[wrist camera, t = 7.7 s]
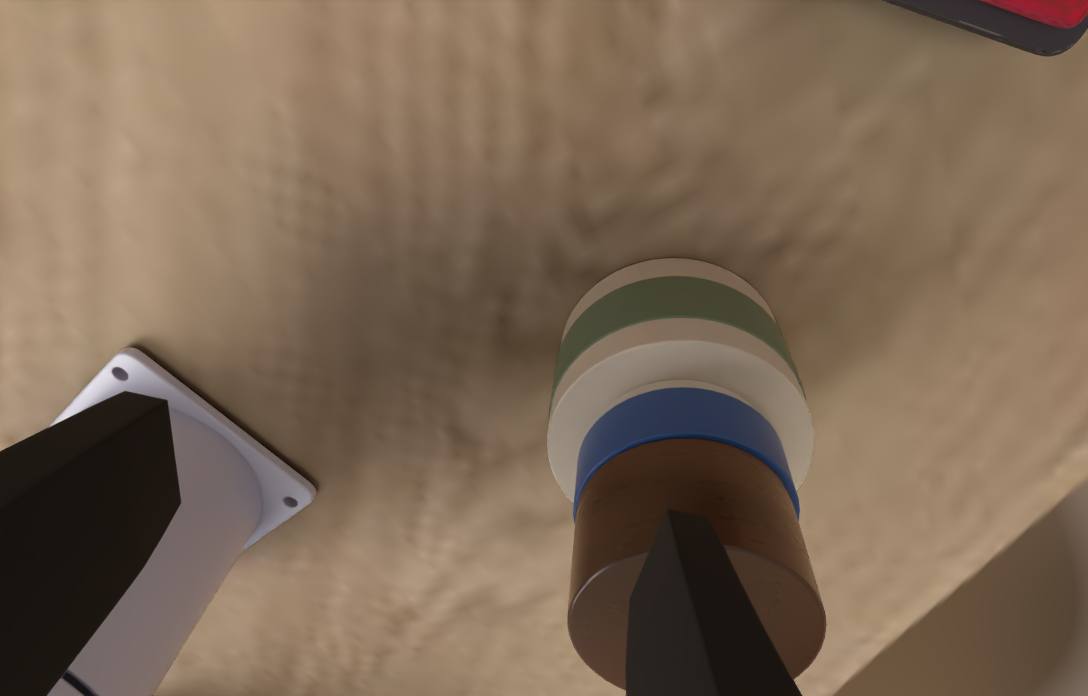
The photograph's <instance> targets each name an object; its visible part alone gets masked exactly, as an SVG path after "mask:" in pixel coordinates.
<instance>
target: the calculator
mask: <svg viewBox="0 0 1088 696" xmlns="http://www.w3.org/2000/svg"><path fill="white" fill-rule="evenodd" d="M883 1H886V2H889V3H891V4H894V5H897V6H900V7H903V8H905V9H908V10H911V11H914V12H917V13H920V14H922V15H925V16H928V17H931V18H934V19H936V20H939V21H942V22H945V23H948V24H950V25H953V26H956V27H959V28H962V29H965V30H967V31H970V32H973V33H976V34H979V35H981V36H984V37H987V38H990V39H993V40H995V41H998V42H1001V43H1004V44H1007V45H1009V46H1012V47H1015V48H1018V49H1021V50H1024V51H1027V52H1030V53H1033V54H1036V55H1040V56H1055V55H1058V54H1061V53H1063V52H1065V51H1067V50H1068V49H1070V48H1071V47H1072V46H1073V45H1075V43H1076V42H1077V41H1078V40H1079V39H1080V38H1081V37H1082V35H1083V34H1084V33H1085V31H1086V30H1087V29H1088V0H883Z"/></svg>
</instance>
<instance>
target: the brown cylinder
mask: <svg viewBox="0 0 1088 696" xmlns="http://www.w3.org/2000/svg"><path fill="white" fill-rule="evenodd" d="M667 508H669V509H674V510H678V511H683V512H688V513H692V514H697V515H701V516H706V517H709V518H710V520H711V521H712V523H713V525H714V527H715V529H716V531H717V533H718V535H719V537H720V539H721V541H722V543H723V545H724V548H725V550H726V552H727V554H728V556H729V558H730V560H731V562H732V564H733V566H734V568H735V570H736V572H737V574H738V576H739V579H740V581H741V583H742V585H743V587H744V588H745V590H746V592H747V594H748V596H749V598H750V600H751V602H752V604H753V606H754V608H755V610H756V612H757V614H758V616H759V618H760V620H761V622H762V624H763V626H764V628H765V629H766V631H767V633H768V635H769V637H770V639H771V640H772V642H773V644H774V646H775V648H776V650H777V651H778V653H779V655H780V657H781V659H782V661H783V662H784V664H785V666H786V668H787V670H788V671H789V673H790V675H791V677H792V679H795V678H796V677H798V676H799V675H800V674H801V673H802V672H803V671H805V670H806V669H807V668H808V667H809V665H810V664H811V663H812V662H813V661H814V659H815V658H816V656H817V655H818V653H819V651H820V649H821V647H822V644H823V641H824V638H825V632H826V616H825V611H824V608H823V604H822V601H821V597H820V594H819V590H818V587H817V584H816V580H815V577H814V573H813V570H812V566H811V563H810V559H809V556H808V553H807V549H806V546H805V542H804V539H803V535H802V532H801V529H800V525H799V522H798V518H797V515H796V511H795V508H794V505H793V501H792V498H791V495H790V493H789V491H788V489H787V487H786V485H785V483H784V482H783V481H782V479H781V478H780V477H779V475H778V474H777V473H776V472H775V471H774V470H773V469H772V468H771V467H769V466H768V465H767V464H766V463H764V462H763V461H762V460H760V459H759V458H758V457H756V456H754V455H752V454H750V453H749V452H747V451H745V450H743V449H740V448H738V447H735V446H732V445H729V444H726V443H722V442H718V441H713V440H707V439H699V438H671V439H664V440H657V441H653V442H649V443H645V444H641V445H639V446H636V447H633V448H630V449H628V450H626V451H624V452H622V453H620V454H618V455H616V456H615V457H613V458H612V459H610V460H609V461H607V462H606V463H605V464H604V465H602V466H601V467H600V468H599V469H598V470H597V471H596V472H595V473H594V474H593V475H592V477H591V478H590V479H589V480H588V482H587V483H586V485H585V487H584V488H583V490H582V492H581V495H580V497H579V500H578V504H577V509H576V520H575V532H574V544H573V556H572V568H571V580H570V592H569V604H568V624H567V625H568V630H569V635H570V638H571V640H572V643H573V645H574V648H575V649H576V651H577V653H578V654H579V656H580V657H581V658H582V660H583V661H584V662H585V663H586V664H587V665H588V666H589V667H590V668H591V669H592V670H593V671H594V672H595V673H596V674H598V675H599V676H601V677H602V678H603V679H605V680H606V681H608V682H610V683H612V684H613V685H615V686H617V687H619V688H621V689H623V690H626V675H625V664H626V645H627V629H628V615H629V600H630V596H631V594H632V592H633V589H634V587H635V584H636V582H637V580H638V577H639V575H640V572H641V570H642V567H643V565H644V563H645V560H646V558H647V555H648V553H649V551H650V548H651V546H652V543H653V541H654V539H655V536H656V534H657V531H658V529H659V526H660V524H661V522H662V519H663V517H664V514H665V512H666V510H667Z"/></svg>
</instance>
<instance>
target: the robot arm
mask: <svg viewBox="0 0 1088 696" xmlns="http://www.w3.org/2000/svg"><path fill="white" fill-rule="evenodd" d="M121 368H122V369H124V370H125V371H126V372H127V373H126V372H124V371H123V370H122V369H121ZM315 495H316V489H315V487H314V486H313V485H312V484H311V483H310V482H309V481H308V480H306V479H305V478H304V477H303V476H301V475H300V474H299V473H297V472H296V471H295V470H293V469H292V468H291V467H290V466H288V465H287V464H286V463H284V462H283V461H282V460H281V459H279V458H278V457H277V456H275V455H274V454H273V453H272V452H270V451H269V450H268V449H266V448H265V447H264V446H263V445H261V444H260V443H259V442H257V441H256V440H255V439H254V438H252V437H251V436H250V435H248V434H247V433H246V432H245V431H243V430H242V429H241V428H239V427H238V426H237V425H235V424H234V423H233V422H232V421H230V420H229V419H228V418H226V417H225V416H224V415H223V414H221V413H220V412H219V411H217V410H216V409H215V408H214V407H212V406H211V405H210V404H208V403H207V402H206V401H205V400H203V399H202V398H201V397H199V396H198V395H197V394H196V393H194V392H193V391H192V390H190V389H189V388H188V387H187V386H185V385H184V384H183V383H181V382H180V381H179V380H177V379H176V378H175V377H174V376H172V375H171V374H170V373H168V372H167V371H166V370H165V369H163V368H162V367H161V366H159V365H158V364H157V363H156V362H154V361H153V360H152V359H150V358H149V357H148V356H147V355H145V354H144V353H143V352H141V351H139V350H138V349H135V348H131V347H127V348H123V349H122V350H120V351H119V352H118V353H117V354H116V355H115V356H114V357H113V358H112V359H111V360H110V361H109V362H108V363H107V364H106V365H105V366H104V367H103V369H102V370H101V371H100V372H99V373H98V374H97V375H96V376H95V377H94V378H93V379H92V380H91V381H90V383H89V384H88V385H87V386H86V387H85V388H84V389H83V390H82V391H81V392H80V393H79V394H78V395H77V397H76V398H75V399H74V400H73V401H72V402H71V403H70V404H69V405H68V406H67V407H66V408H65V409H64V411H63V412H62V413H61V414H60V415H59V416H58V417H57V418H56V419H55V420H54V421H53V422H52V423H51V425H50V426H49V427H48V428H47V429H45V430H43V431H41V432H39V433H37V434H35V435H33V436H31V437H29V438H27V439H25V440H22V441H20V442H18V443H16V444H14V445H12V446H10V447H8V448H6V449H4V450H2V451H0V696H153V695H154V693H155V691H156V690H157V688H158V686H159V685H160V683H161V682H162V680H163V678H164V677H165V675H166V673H167V672H168V670H169V668H170V667H171V665H172V664H173V662H174V660H175V659H176V657H177V655H178V654H179V652H180V651H181V649H182V647H183V646H184V644H185V642H186V641H187V639H188V637H189V636H190V634H191V633H192V631H193V629H194V628H195V626H196V624H197V623H198V621H199V620H200V618H201V616H202V615H203V613H204V611H205V610H206V608H207V606H208V605H209V603H210V602H211V600H212V598H213V597H214V595H215V593H216V592H217V590H218V588H219V587H220V585H221V584H222V582H223V580H224V579H225V577H226V575H227V574H228V572H229V571H230V569H231V567H232V566H233V564H234V562H235V561H236V559H237V557H238V556H239V554H240V553H241V552H243V551H244V550H246V549H247V548H248V547H250V546H251V545H253V544H254V543H255V542H257V541H258V540H260V539H261V538H262V537H264V536H265V535H267V534H268V533H269V532H271V531H272V530H274V529H275V528H276V527H278V526H279V525H281V524H282V523H283V522H285V521H286V520H288V519H289V518H290V517H292V516H293V515H295V514H296V513H297V512H299V511H300V510H302V509H303V508H304V507H306V506H307V505H309V504H310V503H311V502H312V501H313V499H314V497H315ZM291 497H292V498H294V499H292V498H291ZM625 675H626V696H802V694H801V693H800V691H799V689H798V687H797V686H796V684H795V682H794V680H793V679H792V677H791V675H790V673H789V671H788V670H787V668H786V666H785V664H784V662H783V661H782V659H781V657H780V655H779V653H778V651H777V650H776V648H775V646H774V644H773V642H772V640H771V639H770V637H769V635H768V633H767V631H766V629H765V628H764V626H763V624H762V622H761V620H760V618H759V616H758V614H757V612H756V610H755V608H754V606H753V604H752V602H751V600H750V598H749V596H748V594H747V592H746V590H745V588H744V587H743V585H742V583H741V581H740V579H739V576H738V574H737V572H736V570H735V568H734V566H733V564H732V562H731V560H730V558H729V556H728V554H727V552H726V550H725V548H724V545H723V543H722V541H721V539H720V537H719V535H718V533H717V531H716V529H715V527H714V525H713V523H712V521H711V520H710V518H709V517H706V516H701V515H697V514H692V513H688V512H683V511H678V510H674V509H669V508H667V510H666V512H665V514H664V517H663V519H662V522H661V524H660V526H659V529H658V531H657V534H656V536H655V539H654V541H653V543H652V546H651V548H650V551H649V553H648V555H647V558H646V560H645V563H644V565H643V567H642V570H641V572H640V575H639V577H638V580H637V582H636V584H635V587H634V589H633V592H632V594H631V596H630V600H629V615H628V629H627V645H626V664H625Z"/></svg>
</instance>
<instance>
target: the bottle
mask: <svg viewBox="0 0 1088 696" xmlns="http://www.w3.org/2000/svg"><path fill="white" fill-rule="evenodd" d="M671 438H699V439H707V440H713V441H718V442H722V443H726V444H729V445H732V446H735V447H738V448H740V449H743V450H745V451H747V452H749V453H750V454H752V455H754V456H756V457H758V458H759V459H760V460H762V461H763V462H764V463H766V464H767V465H768V466H769V467H771V468H772V469H773V470H774V471H775V472H776V473H777V474H778V475H779V477H780V478H781V479H782V481H783V482H784V483H785V485H786V487H787V489H788V491H789V493H790V495H791V498H792V501H793V505H794V508H795V511H796V515H797V518H798V522H799V512H800V508H799V499H798V496H797V490H798V489H799V487H800V485H801V484H802V482H803V481H804V479H805V477H806V475H807V472H808V470H809V468H810V465H811V461H812V457H813V454H814V444H815V434H814V425H813V421H812V417H811V414H810V410H809V408H808V405H807V403H806V397H805V394H804V390H803V386H802V383H801V381H800V378H799V376H798V373H797V370H796V368H795V365H794V363H793V360H792V357H791V355H790V352H789V350H788V347H787V345H786V342H785V340H784V338H783V335H782V333H781V331H780V329H779V328H778V326H777V324H776V321H775V319H774V317H773V315H772V312H771V310H770V308H769V307H768V305H767V304H766V302H765V301H764V299H763V298H762V297H761V295H760V294H759V293H758V292H757V291H756V290H755V289H754V288H753V287H752V286H751V285H749V284H748V283H747V282H746V281H745V280H743V279H742V278H740V277H739V276H737V275H735V274H734V273H732V272H730V271H728V270H726V269H724V268H721V267H719V266H717V265H714V264H710V263H707V262H703V261H698V260H692V259H684V258H665V259H654V260H649V261H644V262H640V263H637V264H634V265H631V266H628V267H625V268H623V269H621V270H619V271H616V272H614V273H612V274H611V275H609V276H607V277H606V278H604V279H603V280H601V281H600V282H598V283H597V284H596V285H595V286H594V287H592V288H591V289H590V290H589V291H588V292H587V293H586V294H585V295H584V296H583V297H582V298H581V299H580V301H579V302H578V303H577V305H576V306H575V308H574V309H573V311H572V313H571V315H570V317H569V319H568V321H567V323H566V326H565V329H564V332H563V336H562V342H561V347H560V350H559V353H558V357H557V363H556V369H555V376H554V382H553V389H552V395H551V401H550V408H549V427H548V434H547V452H548V458H549V463H550V466H551V469H552V472H553V475H554V477H555V479H556V481H557V482H558V484H559V486H560V488H561V489H562V491H563V492H564V493H565V495H566V496H567V498H568V499H569V500H570V501H571V502H572V503H573V504H574V511H573V516H574V522H575V520H576V509H577V504H578V500H579V497H580V495H581V492H582V490H583V488H584V487H585V485H586V483H587V482H588V480H589V479H590V478H591V477H592V475H593V474H594V473H595V472H596V471H597V470H598V469H599V468H600V467H601V466H602V465H604V464H605V463H606V462H607V461H609V460H610V459H612V458H613V457H615V456H616V455H618V454H620V453H622V452H624V451H626V450H628V449H630V448H633V447H636V446H639V445H641V444H645V443H649V442H653V441H657V440H664V439H671Z"/></svg>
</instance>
